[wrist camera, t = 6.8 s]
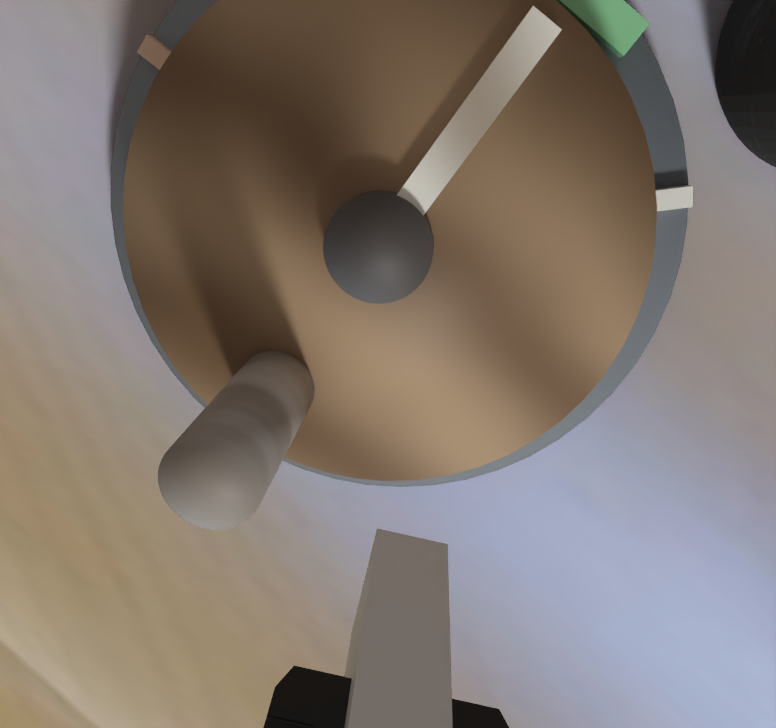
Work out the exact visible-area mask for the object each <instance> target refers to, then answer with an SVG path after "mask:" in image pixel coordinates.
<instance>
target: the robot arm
mask: <svg viewBox="0 0 776 728" xmlns="http://www.w3.org/2000/svg"><path fill="white" fill-rule="evenodd" d="M264 728H509V727H508V725H507V723H506V721H505V719H504V717H503V716H502V714H501V712H500V710H499V709H496V708H491V707H487V706H482V705H478V704H473V703H469V702H464V701H460V700H455V699H452V688H451V652H450V616H449V580H448V544H444V543H439V542H435V541H431V540H426V539H422V538H417V537H413V536H408V535H404V534H399V533H395V532H390V531H386V530H381V529H377V531H376V535H375V539H374V544H373V548H372V552H371V556H370V560H369V564H368V568H367V572H366V576H365V580H364V584H363V589H362V593H361V597H360V601H359V605H358V609H357V613H356V617H355V621H354V625H353V629H352V634H351V640H350V646H349V652H348V658H347V664H346V670H345V676H344V677H343V676H338V675H334V674H329V673H325V672H320V671H316V670H311V669H307V668H302V667H298V666H294V667H293V668H292V669H291V670H290V671H289V672H288V673H287V674H286V675H285V677H284V678H283V679H282V680H281V681H280V682H279V683H278V684H277V686H276V687H275V690H274V693H273V697H272V700H271V704H270V707H269V711H268V714H267V718H266V721H265V724H264Z"/></svg>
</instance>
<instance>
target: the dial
mask: <svg viewBox="0 0 776 728" xmlns="http://www.w3.org/2000/svg"><path fill="white" fill-rule="evenodd" d="M123 220H124V232H125V244H126V250H127V255H128V260H129V264H130V269H131V274H132V278H133V282H134V285H135V288H136V291H137V294H138V296H139V299H140V302H141V305H142V308H143V311H144V313H145V315H146V317H147V319H148V321H149V324H150V326H151V328H152V330H153V332H154V334H155V336H156V338H157V340H158V342H159V343H160V345H161V347H162V348H163V350H164V351H165V353H166V354H167V356H168V358H169V359H170V361H171V362H172V364H173V366H174V367H175V368H176V370H177V371H178V372H179V373H180V375H181V376H182V377H183V378H184V380H185V381H186V382H187V383H188V385H189V386H190V387H191V388H192V389H193V391H194V392H195V393H196V394H197V395H198V396H199V397H200V398H201V399H202V400H203V401H204V402H205V403H206V404H207V405H208V406H207V407H206V408H205V409H204V410H203V411H202V412H201V413H200V415H199V416H198V417H197V418H196V419H195V420H194V421H193V422H192V424H191V425H190V426H189V427H188V428H187V429H186V430H185V432H184V433H183V434H182V435H181V436H180V437H179V438H178V439H177V441H176V442H175V443H174V444H173V445H172V446H171V447H170V448H169V450H168V451H167V452H166V453H165V455H164V456H163V458H162V460H161V463H160V466H159V470H158V483H159V487H160V491H161V494H162V496H163V498H164V500H165V501H166V503H167V504H168V506H169V507H170V508H171V509H172V511H173V512H174V513H175V514H177V515H178V516H179V517H180V518H182V519H183V520H184V521H186V522H188V523H190V524H192V525H194V526H197V527H200V528H203V529H208V530H227V529H231V528H235V527H237V526H239V525H241V524H243V523H245V522H246V521H247V520H248V519H250V518H251V517H252V515H253V514H254V513H255V511H256V510H257V508H258V506H259V504H260V503H261V501H262V499H263V497H264V495H265V493H266V491H267V489H268V487H269V485H270V483H271V481H272V479H273V478H274V476H275V474H276V472H277V470H278V468H279V466H280V464H281V462H282V460H283V458H284V457H285V458H288V459H290V460H292V461H294V462H296V463H299V464H302V465H305V466H308V467H311V468H314V469H317V470H320V471H323V472H327V473H332V474H337V475H342V476H346V477H351V478H356V479H368V480H380V481H406V480H422V479H428V478H435V477H442V476H448V475H452V474H456V473H459V472H463V471H467V470H470V469H474V468H477V467H480V466H483V465H485V464H487V463H490V462H492V461H495V460H497V459H500V458H502V457H505V456H507V455H509V454H511V453H512V452H514V451H516V450H518V449H520V448H521V447H523V446H525V445H527V444H529V443H530V442H532V441H534V440H536V439H537V438H538V437H540V436H541V435H542V434H544V433H545V432H547V431H548V430H549V429H551V428H552V427H553V426H555V425H556V424H557V423H559V422H560V421H561V420H563V419H564V418H565V417H566V416H567V415H568V414H569V413H570V412H571V411H572V410H573V409H574V408H575V407H576V406H577V405H578V404H580V403H581V402H582V401H583V400H584V399H585V398H586V396H587V395H588V394H589V393H590V392H591V390H592V389H593V388H594V387H595V386H596V384H597V383H598V382H599V381H600V380H601V378H602V377H603V376H604V375H605V373H606V372H607V371H608V369H609V367H610V366H611V364H612V363H613V361H614V359H615V358H616V356H617V355H618V353H619V351H620V350H621V348H622V347H623V345H624V343H625V341H626V339H627V337H628V335H629V333H630V330H631V328H632V326H633V324H634V322H635V320H636V318H637V315H638V313H639V310H640V307H641V304H642V301H643V298H644V294H645V291H646V288H647V285H648V282H649V278H650V273H651V267H652V261H653V255H654V250H655V244H656V221H657V200H656V190H655V180H654V169H653V165H652V161H651V156H650V152H649V148H648V144H647V140H646V135H645V131H644V129H643V126H642V124H641V121H640V119H639V116H638V113H637V111H636V108H635V106H634V103H633V101H632V98H631V96H630V94H629V92H628V90H627V89H626V87H625V85H624V83H623V81H622V80H621V78H620V76H619V74H618V72H617V71H616V69H615V67H614V65H613V64H612V62H611V60H610V59H609V58H608V57H607V55H606V54H605V53H604V51H603V50H602V49H601V47H600V46H599V45H598V44H597V42H596V41H595V40H594V38H593V37H592V36H591V34H590V33H589V32H588V30H587V29H586V28H585V27H583V26H582V25H581V24H580V23H579V22H578V21H577V20H576V19H575V18H574V17H573V16H572V15H571V14H570V13H569V12H568V11H567V10H566V9H565V8H564V7H563V6H562V5H561V4H560V3H559V2H558V1H556V0H218V1H217V2H216V3H215V4H214V5H213V6H212V7H210V8H209V9H208V10H207V11H206V12H205V13H204V14H202V15H201V16H200V17H199V18H198V19H197V21H196V22H195V23H194V24H193V25H192V26H191V28H190V29H189V30H188V31H187V32H186V33H185V35H184V36H183V37H182V38H181V39H180V40H179V42H178V43H177V44H176V45H175V47H174V48H173V50H172V51H171V53H170V55H169V56H168V58H167V59H166V61H165V62H164V64H163V66H162V67H161V69H160V70H159V72H158V73H157V75H156V77H155V79H154V81H153V83H152V85H151V87H150V90H149V92H148V94H147V96H146V98H145V100H144V103H143V105H142V107H141V109H140V113H139V116H138V119H137V122H136V126H135V129H134V132H133V135H132V139H131V142H130V147H129V153H128V158H127V164H126V170H125V176H124V196H123Z"/></svg>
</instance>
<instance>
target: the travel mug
mask: <svg viewBox="0 0 776 728" xmlns="http://www.w3.org/2000/svg"><path fill="white" fill-rule="evenodd" d="M716 81H717V87H718V94H719V98H720V102H721V105H722V109H723V112H724V114H725V116H726V118H727V120H728V122H729V125H730V126H731V128H732V129H733V131H734V132H735V134H736V135H737V137H738V138H739V139H740V140H741V142H742V143H743V144H744V145H745V146H746V147H747V148H748V149H749V150H750V151H751V152H753V153H754V154H755V155H756V156H757V157H759V158H760V159H762V160H763V161H765V162H767V163H769V164H770V165H772V166H774V167H776V0H734V1H733V4H732V6H731V8H730V10H729V12H728V14H727V17H726V20H725V23H724V26H723V28H722V32H721V36H720V40H719V45H718V51H717V61H716Z"/></svg>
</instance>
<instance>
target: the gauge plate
mask: <svg viewBox="0 0 776 728" xmlns="http://www.w3.org/2000/svg"><path fill="white" fill-rule="evenodd" d="M217 1H218V0H178V2H177V3H176V4H175V6H174V7H173V8H172V9H171V11H170V12H169V13H168V14H167V16H166V17H165V18H164V19H163V21H162V22H161V24H160V26H159V27H158V29H157V31H156V32H155V34H154V36H151V35H148V34H146V36H145V38H144V40H143V42H142V44H141V45H140V47H139V49H138V51H137V53H138V54H139V55H141V59H140V61H139V63H138V66H137V68H136V71H135V73H134V75H133V78H132V80H131V83H130V85H129V87H128V90H127V92H126V96H125V99H124V103H123V107H122V111H121V114H120V118H119V122H118V125H117V129H116V135H115V143H114V150H113V158H112V165H111V212H112V220H113V229H114V237H115V244H116V248H117V252H118V257H119V261H120V265H121V269H122V273H123V277H124V280H125V283H126V285H127V288H128V291H129V294H130V296H131V299H132V302H133V304H134V307H135V310H136V312H137V314H138V316H139V318H140V320H141V322H142V324H143V326H144V328H145V330H146V331H147V333H148V335H149V337H150V339H151V341H152V343H153V344H154V346H155V347H156V349H157V350H158V352H159V353H160V355H161V356H162V358H163V359H164V361H165V362H166V364H167V365H168V367H169V368H170V370H171V371H172V372H173V374H174V375H175V376H176V377H177V378H178V379H179V381H180V382H181V383H182V384H183V385H184V387H185V388H186V389H187V390H188V391H189V392H190V394H191V395H192V396H193V397H194V398H195V399H196V400H197V401H198V402H199V403H200V404H201V405H203V406H204V407H205V408H206V407H207V406H208V405H207V404H206V403H205V402H204V401H203V400H202V399H201V398H200V397H199V396H198V395H197V394H196V393H195V392H194V391H193V389H192V388H191V387H190V386H189V385H188V383H187V382H186V381H185V380H184V378H183V377H182V376H181V375H180V373H179V372H178V371H177V370H176V368H175V367H174V366H173V364H172V362H171V361H170V359H169V358H168V356H167V354H166V353H165V351H164V350H163V348H162V347H161V345H160V343H159V342H158V340H157V338H156V336H155V334H154V332H153V330H152V328H151V326H150V324H149V321H148V319H147V317H146V315H145V313H144V311H143V308H142V305H141V302H140V299H139V296H138V294H137V291H136V288H135V285H134V282H133V278H132V274H131V269H130V264H129V260H128V255H127V250H126V244H125V232H124V220H123V196H124V176H125V170H126V164H127V158H128V153H129V147H130V142H131V139H132V135H133V132H134V129H135V126H136V122H137V119H138V116H139V113H140V109H141V107H142V105H143V103H144V100H145V98H146V96H147V94H148V92H149V90H150V87H151V85H152V83H153V81H154V79H155V77H156V75H157V73H158V72H159V70H160V69H161V67H162V66H163V64H164V62H165V61H166V59H167V58H168V56H169V55H170V53H171V51H172V50H173V48H174V47H175V45H176V44H177V43H178V42H179V40H180V39H181V38H182V37H183V36H184V35H185V33H186V32H187V31H188V30H189V29H190V28H191V26H192V25H193V24H194V23H195V22H196V21H197V19H198V18H199V17H200V16H201V15H202V14H204V13H205V12H206V11H207V10H208V9H209V8H210V7H212V6H213V5H214V4H215V3H216V2H217ZM556 1H558V2H559V3H560V4H561V5H562V6H563V7H564V8H565V9H566V10H567V11H568V12H569V13H570V14H571V15H572V16H573V17H574V18H575V19H576V20H577V21H578V22H579V23H580V24H581V25H582V26H583V27H585V28H586V29H587V30H588V32H589V33H590V34H591V36H592V37H593V38H594V40H595V41H596V42H597V44H598V45H599V46H600V47H601V49H602V50H603V51H604V53H605V54H606V55H607V57H608V58H609V59H610V60H611V62H612V64H613V65H614V67H615V69H616V71H617V72H618V74H619V76H620V78H621V80H622V81H623V83H624V85H625V87H626V89H627V90H628V92H629V94H630V96H631V98H632V101H633V103H634V106H635V108H636V111H637V113H638V116H639V119H640V121H641V124H642V126H643V129H644V131H645V135H646V140H647V144H648V148H649V152H650V156H651V161H652V165H653V169H654V180H655V190H656V200H657V221H656V244H655V250H654V255H653V261H652V267H651V273H650V278H649V282H648V285H647V288H646V291H645V294H644V298H643V301H642V304H641V307H640V310H639V313H638V315H637V318H636V320H635V322H634V324H633V326H632V328H631V330H630V333H629V335H628V337H627V339H626V341H625V343H624V345H623V347H622V348H621V350H620V351H619V353H618V355H617V356H616V358H615V359H614V361H613V363H612V364H611V366H610V367H609V369H608V371H607V372H606V373H605V375H604V376H603V377H602V378H601V380H600V381H599V382H598V383H597V384H596V386H595V387H594V388H593V389H592V390H591V392H590V393H589V394H588V395H587V396H586V398H585V399H584V400H583V401H582V402H581V403H580V404H578V405H577V406H576V407H575V408H574V409H573V410H572V411H571V412H570V413H569V414H568V415H567V416H566V417H565V418H564V419H563V420H561V421H560V422H559V423H557V424H556V425H555V426H553V427H552V428H551V429H549V430H548V431H547V432H545V433H544V434H542V435H541V436H540V437H538V438H537V439H536V440H534V441H532V442H530V443H529V444H527V445H525V446H523V447H521V448H520V449H518V450H516V451H514V452H512V453H511V454H509V455H507V456H505V457H502V458H500V459H497V460H495V461H492V462H490V463H487V464H485V465H483V466H480V467H477V468H474V469H470V470H467V471H463V472H459V473H456V474H452V475H448V476H442V477H435V478H428V479H422V480H406V481H380V480H368V479H356V478H351V477H346V476H342V475H337V474H332V473H327V472H323V471H320V470H317V469H314V468H311V467H308V466H305V465H302V464H299V463H296V462H294V461H292V460H290V459H288V458H285V457H284V458H283V461H285V462H288V463H290V464H292V465H295V466H297V467H299V468H302V469H304V470H307V471H311V472H314V473H317V474H321V475H324V476H327V477H331V478H334V479H338V480H344V481H349V482H355V483H361V484H366V485H379V486H395V487H408V486H426V485H437V484H443V483H449V482H454V481H460V480H466V479H469V478H473V477H476V476H479V475H483V474H486V473H490V472H493V471H496V470H499V469H502V468H504V467H506V466H509V465H511V464H513V463H515V462H518V461H520V460H522V459H525V458H527V457H529V456H531V455H533V454H535V453H536V452H538V451H540V450H541V449H543V448H545V447H546V446H548V445H550V444H552V443H553V442H555V441H557V440H558V439H560V438H561V437H563V436H564V435H565V434H567V433H568V432H569V431H570V430H572V429H573V428H574V427H576V426H577V425H578V424H580V423H581V422H582V421H584V420H585V419H586V418H587V417H588V416H589V415H591V414H592V413H593V412H594V411H595V410H596V409H597V408H598V407H599V406H600V405H601V404H602V403H603V402H604V401H605V400H606V399H607V398H608V397H609V396H610V395H611V394H612V393H613V392H614V391H615V389H616V388H617V387H618V385H619V384H620V383H621V382H622V380H623V379H624V378H625V377H626V375H627V374H628V373H629V372H630V370H631V369H632V368H633V367H634V365H635V364H636V362H637V361H638V359H639V357H640V356H641V354H642V353H643V351H644V349H645V348H646V346H647V344H648V343H649V341H650V339H651V338H652V336H653V334H654V333H655V331H656V328H657V326H658V324H659V322H660V319H661V317H662V315H663V313H664V310H665V308H666V306H667V304H668V301H669V299H670V296H671V293H672V289H673V286H674V283H675V279H676V276H677V273H678V269H679V266H680V263H681V258H682V251H683V245H684V239H685V233H686V226H687V209H688V208H689V207H693V186H691V185H688V175H687V166H686V157H685V148H684V140H683V136H682V132H681V128H680V124H679V120H678V116H677V112H676V108H675V104H674V101H673V98H672V95H671V93H670V91H669V88H668V86H667V83H666V81H665V78H664V76H663V73H662V71H661V69H660V66H659V64H658V61H657V59H656V58H655V56H654V54H653V53H652V51H651V49H650V47H649V46H648V44H647V42H646V41H645V39H644V37H643V35H642V33H643V32H644V31H645V29H646V28H647V27H648V26H649V24H650V23H649V22H648V21H647V20H646V19H644V18H643V17H642V16H641V15H640V14H639V13H638V12H637V11H635V10H634V9H633V8H632V7H631V6H630V5H629V4H628V3H626V2H625V1H624V0H556Z"/></svg>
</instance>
